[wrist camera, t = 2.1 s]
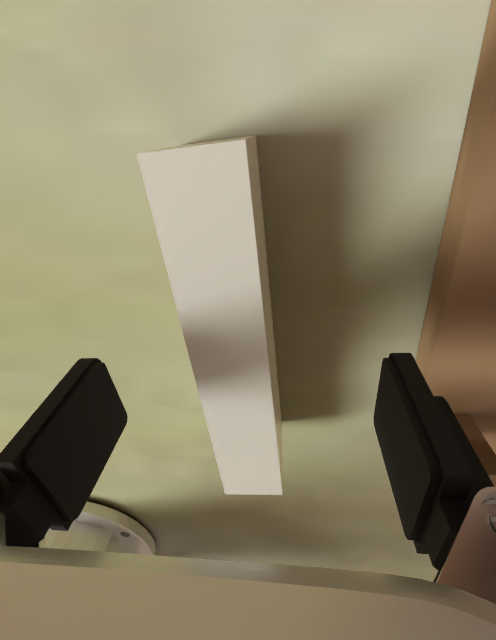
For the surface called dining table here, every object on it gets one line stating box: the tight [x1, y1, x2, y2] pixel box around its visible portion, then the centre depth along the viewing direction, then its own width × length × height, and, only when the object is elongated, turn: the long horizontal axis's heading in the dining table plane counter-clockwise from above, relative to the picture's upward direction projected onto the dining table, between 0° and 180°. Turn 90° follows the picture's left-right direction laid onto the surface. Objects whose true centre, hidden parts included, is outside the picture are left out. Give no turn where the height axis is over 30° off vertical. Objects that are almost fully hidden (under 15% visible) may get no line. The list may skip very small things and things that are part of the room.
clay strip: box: [137, 135, 283, 495], centre depth 15 cm, size 16×3×5 cm, turn 7°
